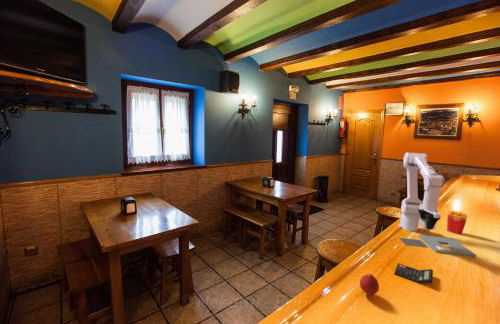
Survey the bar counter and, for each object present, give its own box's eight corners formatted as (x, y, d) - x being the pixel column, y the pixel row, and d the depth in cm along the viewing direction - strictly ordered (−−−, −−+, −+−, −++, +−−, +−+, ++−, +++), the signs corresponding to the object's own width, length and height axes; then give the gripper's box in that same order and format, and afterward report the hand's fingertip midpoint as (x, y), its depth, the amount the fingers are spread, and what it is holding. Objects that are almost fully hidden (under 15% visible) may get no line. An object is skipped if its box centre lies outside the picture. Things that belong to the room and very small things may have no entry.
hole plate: (418, 238, 126) (418, 234, 126) (452, 242, 123) (453, 238, 123) (435, 254, 111) (436, 249, 110) (475, 258, 108) (476, 254, 107)
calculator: (398, 264, 102) (398, 258, 101) (432, 276, 94) (433, 269, 94) (394, 275, 94) (395, 268, 94) (430, 288, 87) (432, 281, 87)
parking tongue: (398, 239, 124) (398, 237, 124) (419, 241, 122) (420, 239, 122) (405, 247, 116) (405, 245, 116) (428, 249, 115) (428, 247, 115)
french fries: (444, 230, 138) (447, 210, 136) (446, 228, 140) (450, 209, 138) (463, 236, 131) (467, 215, 129) (465, 234, 133) (469, 213, 131)
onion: (371, 288, 85) (374, 268, 84) (381, 300, 80) (384, 278, 78) (355, 288, 85) (358, 268, 84) (364, 300, 80) (366, 278, 78)
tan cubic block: (417, 227, 120) (419, 218, 119) (429, 228, 119) (430, 219, 119) (422, 231, 115) (424, 222, 115) (434, 233, 114) (436, 223, 114)
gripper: (414, 194, 123) (410, 220, 125) (429, 203, 109) (425, 232, 111) (429, 196, 121) (426, 221, 124) (447, 205, 107) (442, 233, 109)
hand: (426, 226), depth 117 cm, fingers closed on tan cubic block, 5 cm apart
